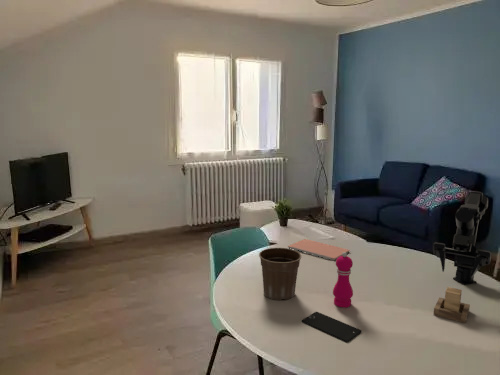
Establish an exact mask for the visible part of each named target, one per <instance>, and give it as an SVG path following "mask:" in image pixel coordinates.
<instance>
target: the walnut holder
mask: <svg viewBox="0 0 500 375" xmlns="http://www.w3.org/2000/svg"><path fill="white" fill-rule="evenodd" d="M444 303H445V297H443V298H442V297H440V296H439V297H438V299H437V301H436V304H435V305H434V308H433V315H434V316H437V317H439V318H444V319H447V320H448V319H449V320H451V321H456V322H460V323H463V324H466V323H467V318H468V316H469V313H470V306H471V305H470V304H468V303H464V302H460V312H455V311H451V310H447V309H444Z"/></svg>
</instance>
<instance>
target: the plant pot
mask: <svg viewBox="0 0 500 375" xmlns="http://www.w3.org/2000/svg"><path fill="white" fill-rule="evenodd" d="M288 248H289V247H287V248H286V247H270V248H266V249H263V250H261V251H260V252H259V253H258V256H259V258H260V266H261V272H262V273H261V276H262V287H263V288H262V289H263V294H264V296H265V295H266V296H265V297H266V298H269V299H271V298H272V299H271V300H275V299H276V300H277V301H282V300H285V299H286V300H289V299H291V298H294V296H295V295H296V294H295V293H296V286H297V279H298V278H297V277H298V270H299V267H300V263H301V259H302V254H301V252H299V251H295V250H292V249H288ZM294 294H295V295H294ZM276 300H275V301H276Z"/></svg>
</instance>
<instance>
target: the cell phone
mask: <svg viewBox="0 0 500 375" xmlns="http://www.w3.org/2000/svg"><path fill="white" fill-rule="evenodd" d="M301 323H303V324H305V325H308V326H309V327H311V328H314V329H316V330H318V331H320V332H322V333H324V334H327V335H328V336H332V337H334V338H336V339H337V340H341V341H342V342H345V343H349V342H351V341H353V339H355V338H356V337H357V336H359V335H360V334H361V333H362V330H361V329H359V328H357V327H355V326H353V325H350V324H348V323H345V322H343V321H341V320H338V319H335V318H333V317H331V316H328V315H326V314H324V313H323V312H322V313H321V312H319V311H314V312H313V313H311V314H310V315H308V316H306V317H304V318H303V319H302V320H301Z"/></svg>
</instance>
